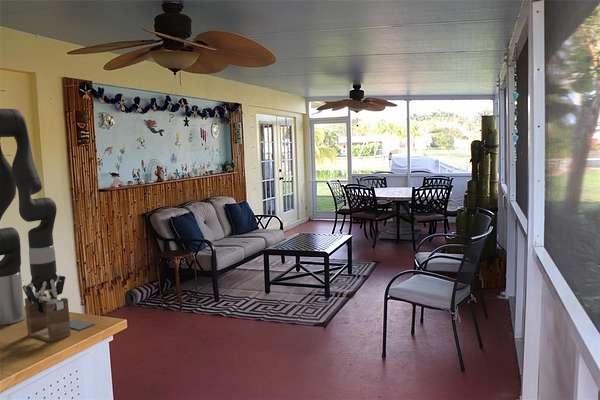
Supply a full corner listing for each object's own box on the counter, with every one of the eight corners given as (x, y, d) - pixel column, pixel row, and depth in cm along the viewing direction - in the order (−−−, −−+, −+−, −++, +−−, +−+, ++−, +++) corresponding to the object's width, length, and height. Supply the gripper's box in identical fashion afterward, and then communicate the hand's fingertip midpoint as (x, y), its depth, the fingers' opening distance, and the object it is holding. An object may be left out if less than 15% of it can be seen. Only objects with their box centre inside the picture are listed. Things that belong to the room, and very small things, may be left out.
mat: (60, 325, 174) (60, 324, 173) (75, 319, 179) (75, 318, 179) (79, 330, 169) (79, 329, 169) (94, 324, 174) (94, 323, 174)
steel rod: (30, 303, 167) (29, 296, 166) (36, 301, 169) (36, 294, 168) (57, 310, 160) (56, 303, 159) (63, 308, 162) (63, 300, 161)
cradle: (28, 334, 166) (24, 298, 164) (46, 328, 171) (42, 292, 170) (52, 342, 160) (49, 304, 158) (70, 335, 165) (67, 298, 163)
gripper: (55, 253, 170) (59, 302, 172) (14, 263, 158) (19, 315, 160) (69, 256, 166) (73, 305, 169) (28, 266, 154) (33, 319, 156)
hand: (47, 310), depth 164 cm, fingers open, 4 cm apart
